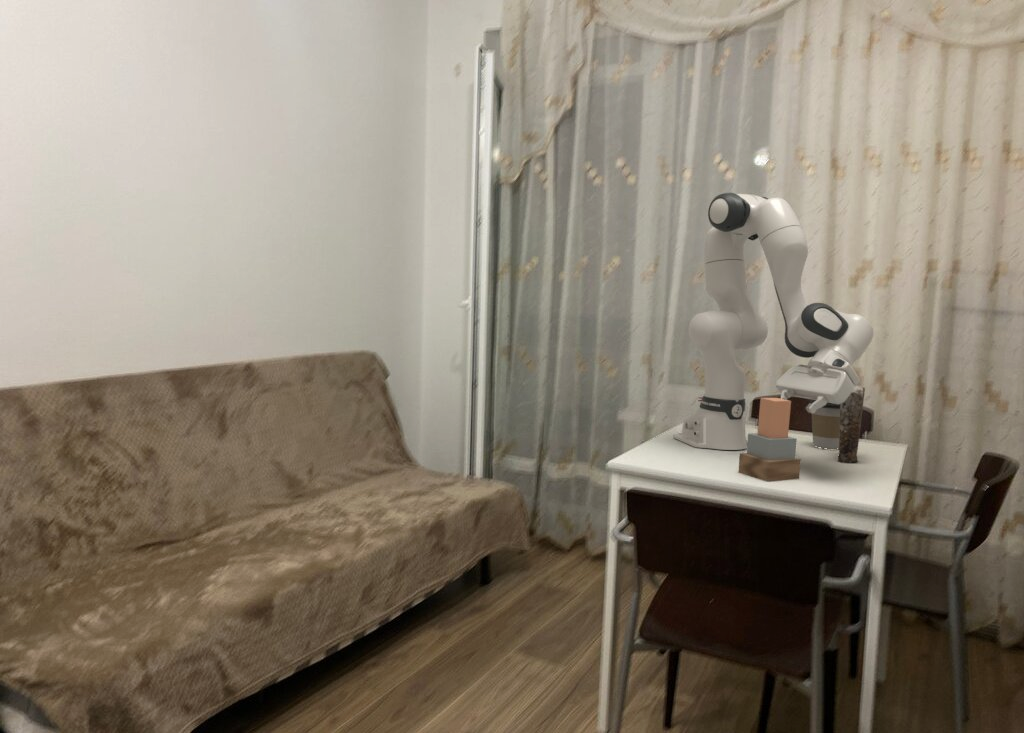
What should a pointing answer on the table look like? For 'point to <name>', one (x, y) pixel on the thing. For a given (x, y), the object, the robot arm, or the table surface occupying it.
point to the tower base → (769, 468)
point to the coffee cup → (826, 426)
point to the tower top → (771, 447)
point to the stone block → (850, 425)
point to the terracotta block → (774, 417)
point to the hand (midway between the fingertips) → (794, 408)
